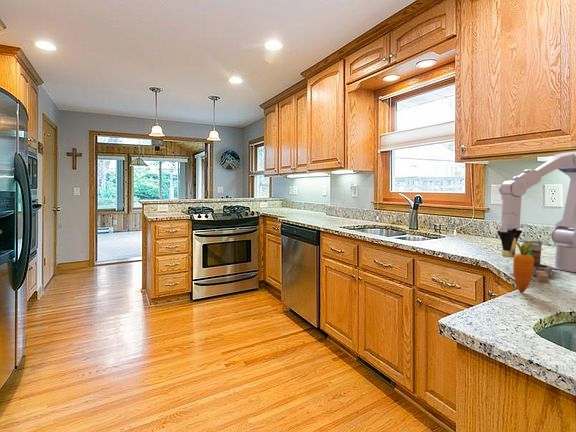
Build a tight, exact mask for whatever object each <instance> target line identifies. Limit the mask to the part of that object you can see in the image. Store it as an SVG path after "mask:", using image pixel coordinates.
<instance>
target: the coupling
mask: <svg viewBox="0 0 576 432" xmlns="http://www.w3.org/2000/svg"><path fill="white" fill-rule="evenodd" d="M553 270H554V269H553V268H552V267H551V265H547V264H541V263H540V264H535V263H534V268H533V274H532V277H533V276H534V277H535V278H536V280H538V282H540V283H546V284H547V283H548V282H549V278H550V277H553Z"/></svg>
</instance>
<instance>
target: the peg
mask: <svg viewBox="0 0 576 432" xmlns="http://www.w3.org/2000/svg"><path fill="white" fill-rule="evenodd" d="M516 247H517V244H516V238H514V239H513V243H512V247H511V250H510V251H504V250H503V247H502V250H501V256H502V257H503V258H514V255H516Z"/></svg>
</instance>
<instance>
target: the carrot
mask: <svg viewBox="0 0 576 432" xmlns="http://www.w3.org/2000/svg"><path fill="white" fill-rule="evenodd" d="M531 245H532V243H530V242H529V243H528V244H526V245H525V244H522V243H521V245H520V243H519V242H517V243H516V247H517V248H518V250H519V252H520V253H515V255H514V258H513V259H512V260H513V265H512V269H513V270H512V271H513V277H514V278H513V279H514V282H515V285H516V287H517V289H518V291H519V292H520V293H521V294H523V293H524V292H525V291H526V290H527V288H528V287H529V285H530V284H531V280H532V277H533V276H532V274H533V268H534V258H533V257H532V256H531V255H528V253H529V252H531V251H532V249H529V248H530V247H531ZM528 249H529V250H528Z"/></svg>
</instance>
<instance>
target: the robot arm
mask: <svg viewBox="0 0 576 432" xmlns="http://www.w3.org/2000/svg"><path fill="white" fill-rule="evenodd" d="M555 170H558V171H560V172H561V173H563V174H565V175H566V176H567V177H568V178H570V180H569V185H568V190H567V194H566V200H565V204H564V210H563V214H562V219H561V220H559V221H558V222H556V223H555V224H554V228H553V229H552V231H551V233H550V238H551V241H552V242H554V243H553V244H554V245H555V253H554V264H553V265H552V266H551V265H550V266H551V267H552V268H553V270H559V271H566V272H571V273H576V151H570V152H569V151H568V152H559V153H557V154H556V155H553V156H551V158H550V159H548V160H547V161H546V162H544V163H543V164H541V165H539V166H538V167H537V168H535V169H534V168H531V169H530V168H529V169H524V170H523V171H522V173H520V174H518V175H516V176H513V177H512V179H511V180H505V181H504V182H502V183H501V185H500V187H499V188H498V192H499V194H500V196H501V198H500V199H501V200H502V201H501V203H502V204H501V220H500V223H497V224H496V226H497V227H500V230H497V234H498V236H499V239H500V242H501V246H502V247H503V250H504V251H510V250H511V247H512V243H513V239H514V238H516V243H518V240H519V238H520V236H521V235H522V232H523V231H522V230H521V229H520V228H521V212H522V211H521V209H522V196H524V195H525V194H526V193H527V190H529V189H531V188H532V187H533V186H535V185H537V184H539V183H540V182H541V180H542V177H544V176H546V175H548V174H550V173H552V172H554V171H555Z"/></svg>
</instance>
